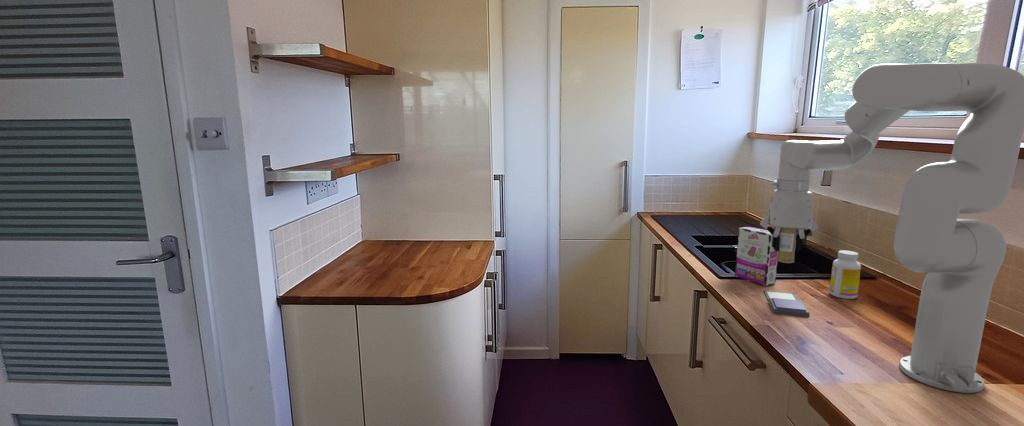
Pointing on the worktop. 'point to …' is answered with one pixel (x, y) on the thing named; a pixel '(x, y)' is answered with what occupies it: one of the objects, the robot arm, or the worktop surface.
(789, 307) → the ink pad
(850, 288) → the supplement bottle
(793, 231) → the sprinkles bottle
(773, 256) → the candy bar box
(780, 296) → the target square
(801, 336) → the worktop surface
